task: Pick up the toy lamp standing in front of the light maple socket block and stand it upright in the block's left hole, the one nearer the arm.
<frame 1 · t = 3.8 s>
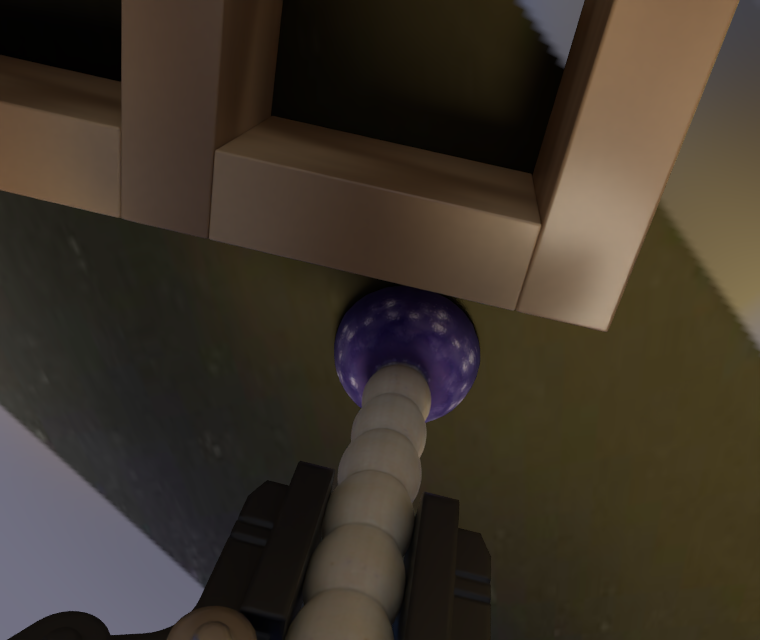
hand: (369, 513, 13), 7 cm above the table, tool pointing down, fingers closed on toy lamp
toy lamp: (418, 343, 20), on the table, touching gripper
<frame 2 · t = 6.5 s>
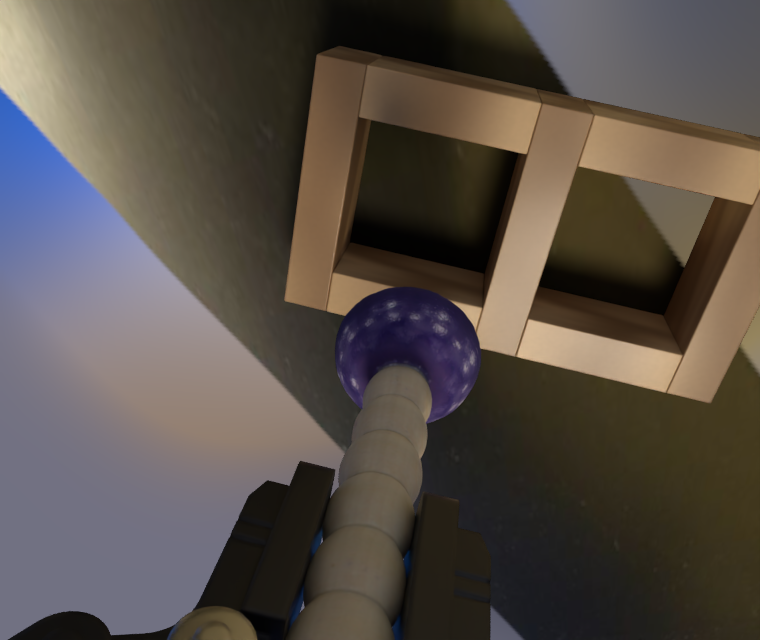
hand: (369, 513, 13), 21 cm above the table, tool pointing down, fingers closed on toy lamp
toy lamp: (419, 344, 20), point 14 cm above the table, touching gripper
socket block: (524, 212, 31), on the table
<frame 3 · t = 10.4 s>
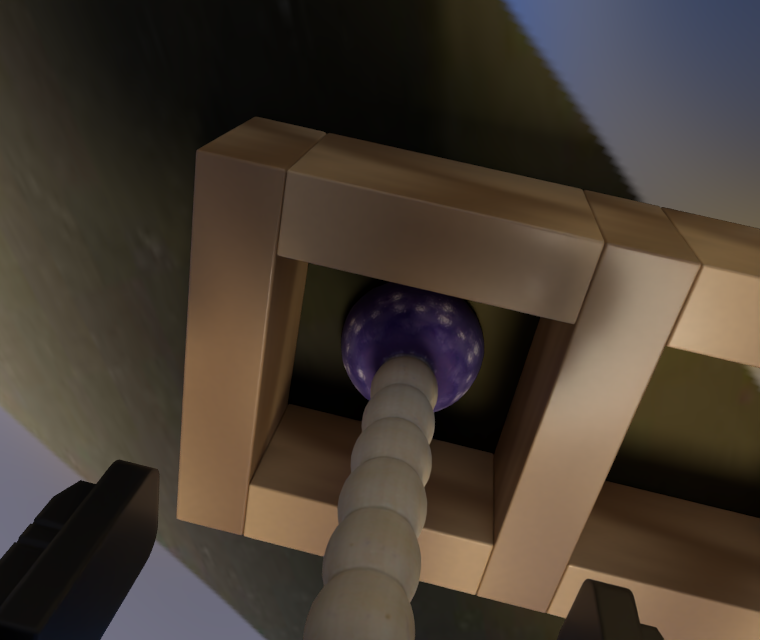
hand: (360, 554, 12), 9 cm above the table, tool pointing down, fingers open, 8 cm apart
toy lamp: (423, 335, 20), resting in socket block
socket block: (557, 371, 20), on the table
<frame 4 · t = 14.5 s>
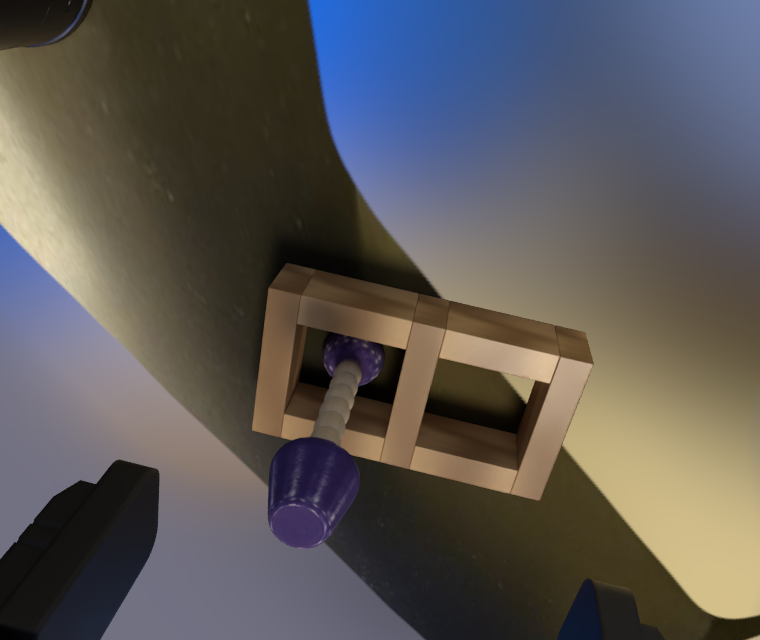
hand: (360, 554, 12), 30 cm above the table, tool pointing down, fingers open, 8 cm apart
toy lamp: (359, 351, 46), resting in socket block
socket block: (417, 367, 45), on the table
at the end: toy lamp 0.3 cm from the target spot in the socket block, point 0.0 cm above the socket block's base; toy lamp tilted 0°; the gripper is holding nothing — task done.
